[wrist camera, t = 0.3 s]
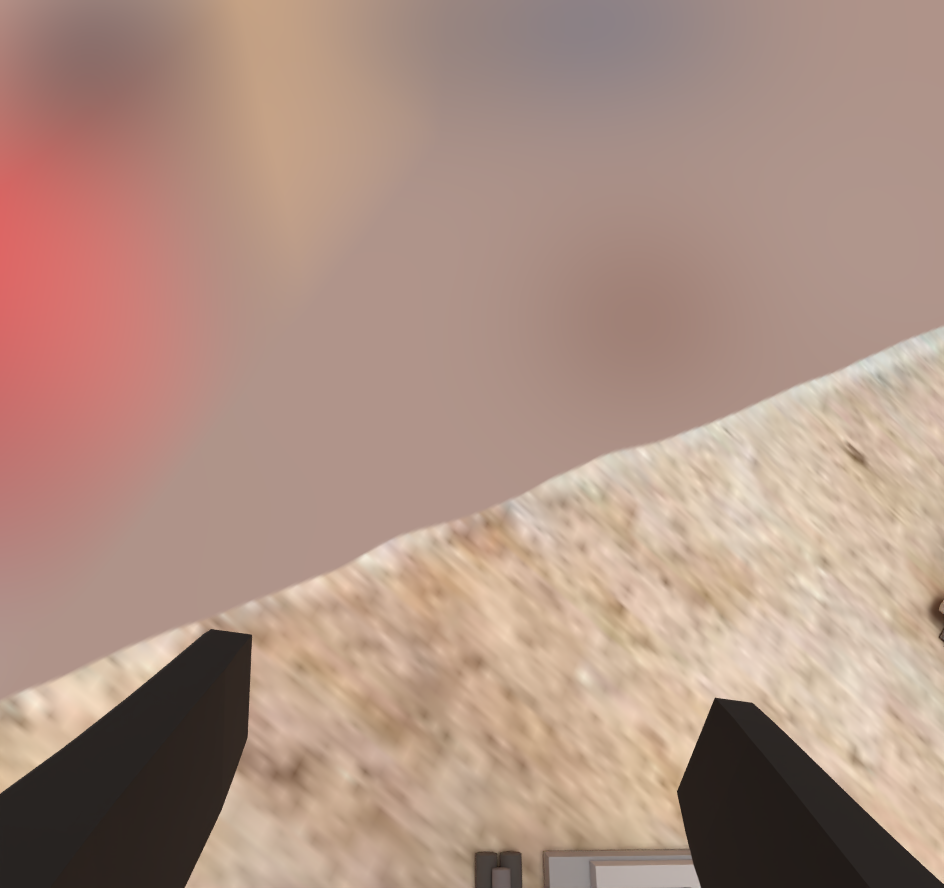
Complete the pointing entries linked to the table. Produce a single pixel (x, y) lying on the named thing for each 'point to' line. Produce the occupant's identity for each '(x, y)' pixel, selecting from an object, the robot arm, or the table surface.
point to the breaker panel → (620, 869)
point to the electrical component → (943, 609)
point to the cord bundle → (498, 870)
